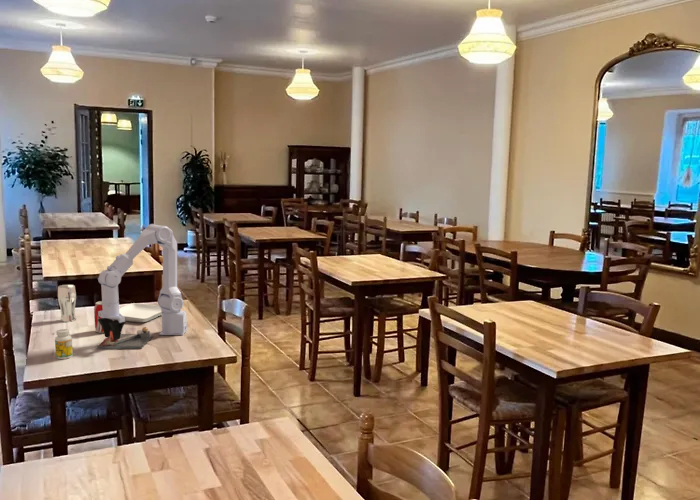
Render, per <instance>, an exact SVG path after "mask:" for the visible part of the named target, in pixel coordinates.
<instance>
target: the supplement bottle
mask: <svg viewBox="0 0 700 500" xmlns="http://www.w3.org/2000/svg"><path fill="white" fill-rule="evenodd" d="M54 345H55V346H54V347H55V358H56V359H58V360H66V359H67V360H68V359H70V358H73V355H74V351H73V338H72V335H70V329H67V328H64V329H63V328H62V329H59V330H56V337H55V338H54Z"/></svg>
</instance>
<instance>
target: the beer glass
mask: <svg viewBox="0 0 700 500" xmlns="http://www.w3.org/2000/svg"><path fill="white" fill-rule="evenodd" d="M57 301H58V304H59V307H60V309H59V310H60V313H61V315H60V322H61V323H72V322H75V321H77V318H76V312H75V311H76V309H75V308H76V304H77V303H76V302H77V292H76V285H74V284H62V285H61V284H60V285H58V286H57Z"/></svg>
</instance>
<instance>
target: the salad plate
mask: <svg viewBox="0 0 700 500" xmlns="http://www.w3.org/2000/svg"><path fill="white" fill-rule="evenodd" d="M119 313H120V314H121V315H122V316H124V317H125V322H132V323H133V322H134V323H146V322H149V321H152V320H154V319H155V318H158V316H159V317H160V316H161V317H162V315H161V307H160V306H159V305H158V304H157V305H156V304H148V303H147V304H145V303H135V302H133V303H132V302H131V303H130V304H127V305H124V306H121V307H119Z"/></svg>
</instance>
